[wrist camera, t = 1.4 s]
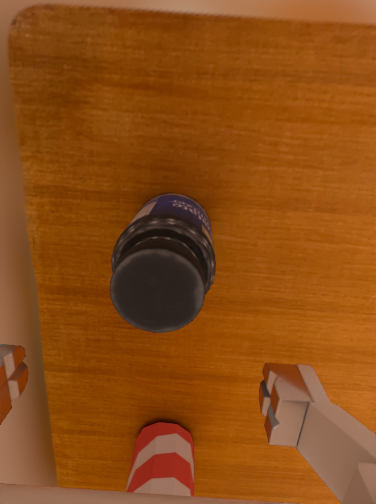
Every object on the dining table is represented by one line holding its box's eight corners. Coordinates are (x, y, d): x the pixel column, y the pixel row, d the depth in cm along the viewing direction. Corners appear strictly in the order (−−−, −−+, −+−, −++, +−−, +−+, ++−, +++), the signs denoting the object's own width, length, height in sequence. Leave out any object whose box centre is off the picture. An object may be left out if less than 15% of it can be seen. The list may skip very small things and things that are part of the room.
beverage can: (202, 427, 33) (206, 577, 22) (178, 462, 35) (170, 615, 24) (151, 409, 32) (129, 555, 21) (129, 446, 34) (98, 596, 23)
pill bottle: (225, 228, 25) (247, 294, 14) (174, 275, 26) (162, 365, 16) (170, 174, 23) (152, 205, 13) (120, 228, 25) (68, 294, 15)
